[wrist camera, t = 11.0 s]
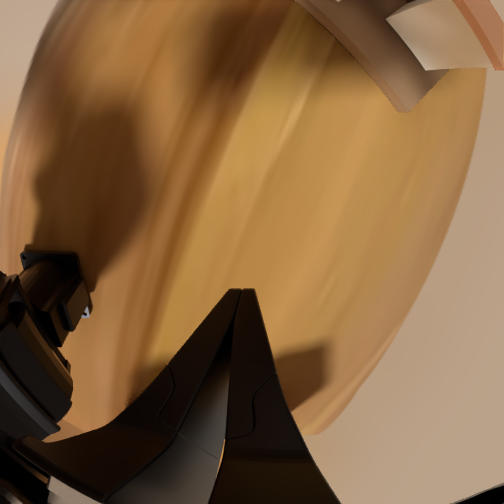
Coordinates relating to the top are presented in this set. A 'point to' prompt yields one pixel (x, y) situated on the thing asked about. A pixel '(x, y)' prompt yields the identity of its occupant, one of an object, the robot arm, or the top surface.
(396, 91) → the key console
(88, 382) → the top surface
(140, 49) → the top surface
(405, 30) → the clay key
